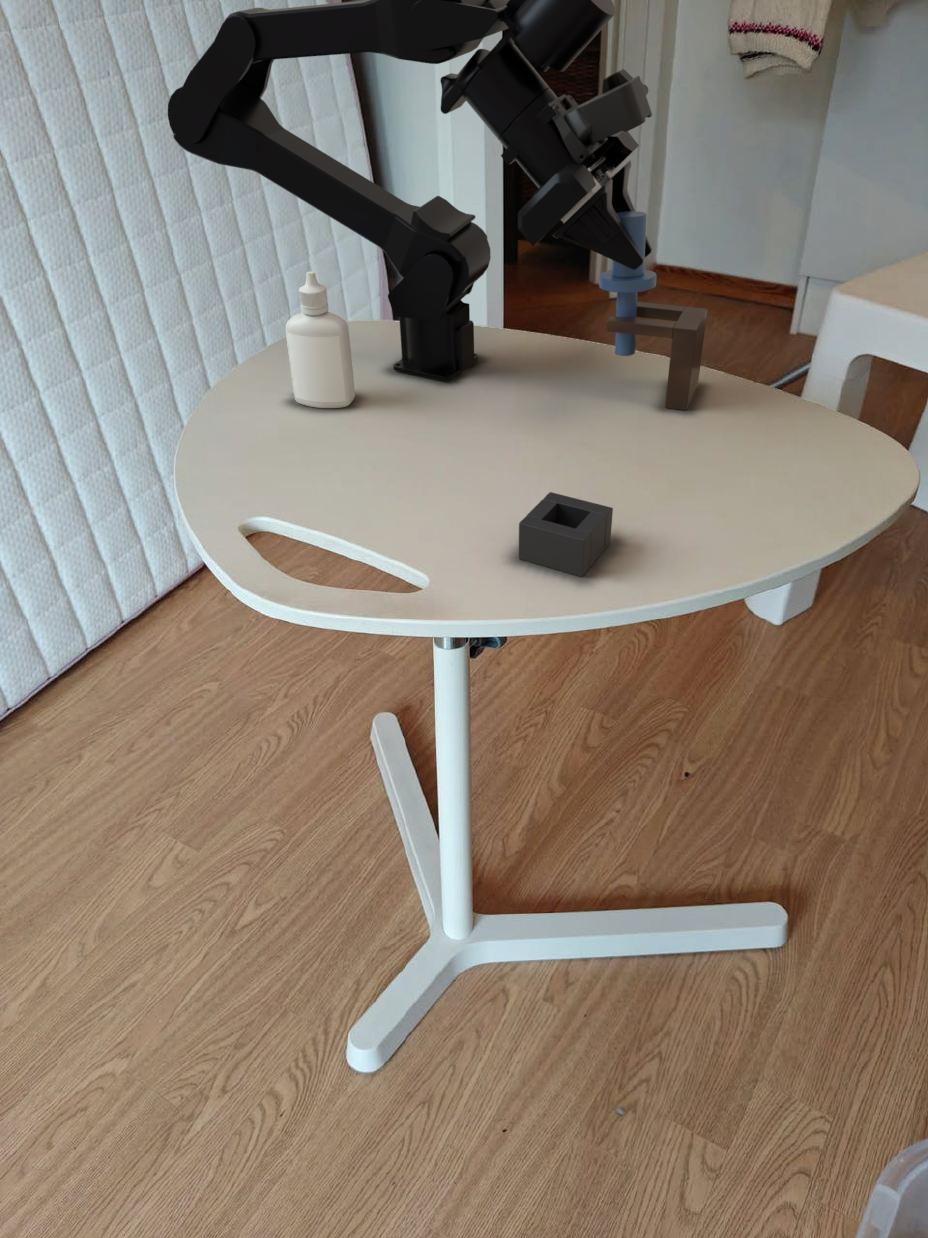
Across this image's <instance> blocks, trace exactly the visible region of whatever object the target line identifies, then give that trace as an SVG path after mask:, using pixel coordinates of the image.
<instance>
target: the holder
mask: <svg viewBox="0 0 928 1238" xmlns="http://www.w3.org/2000/svg"><path fill="white" fill-rule="evenodd" d="M613 511H614V508H613V507H611V506H607V505H603V504H599V503H596V502H592V501H588V500H584V499H580V498H576V497H571V496H568V495H563V494H560V493H556V492H552V491H549V492H548V493H547V494H546V496H544V497H543V498H542V499H541V500H540V501H539V502H538V503H537V504H536V505H535V506H534V507H533V508H532V509H531V510H530V511H529V512H528V513H527V514H526V515H525V517H524V518H522V519H521V520H520V522H519V523H518V560H522V561H525V562H529V563H533V564H535V565H539V566H542V567H547V568H550V569H553V570H556V571H560V572H562V573H563V572H564V573H568V574H570V575H574V576H577V577H582V578H583V577H584V575H586V573H587V572H588V570H589V569H590V568H591V567H593V565H594V564H595V562H596V561H597V560H598V558H599V557H600V556H601V555H602V554H603V553H604V551H605V550H606V549H607V547H609V545H610V544H611V539H612V538H611V537H612V526H613V515H614V513H613Z"/></svg>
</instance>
